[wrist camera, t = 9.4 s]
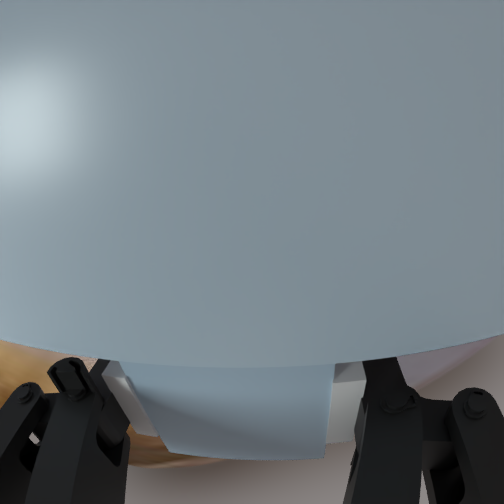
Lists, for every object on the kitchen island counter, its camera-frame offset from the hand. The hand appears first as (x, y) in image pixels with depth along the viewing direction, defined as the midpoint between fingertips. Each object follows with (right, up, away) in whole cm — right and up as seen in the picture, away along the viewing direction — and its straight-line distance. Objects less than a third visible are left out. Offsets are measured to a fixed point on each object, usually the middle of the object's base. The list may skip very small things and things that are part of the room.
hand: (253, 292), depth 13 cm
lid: (-2, +9, -7) cm, 11 cm away
